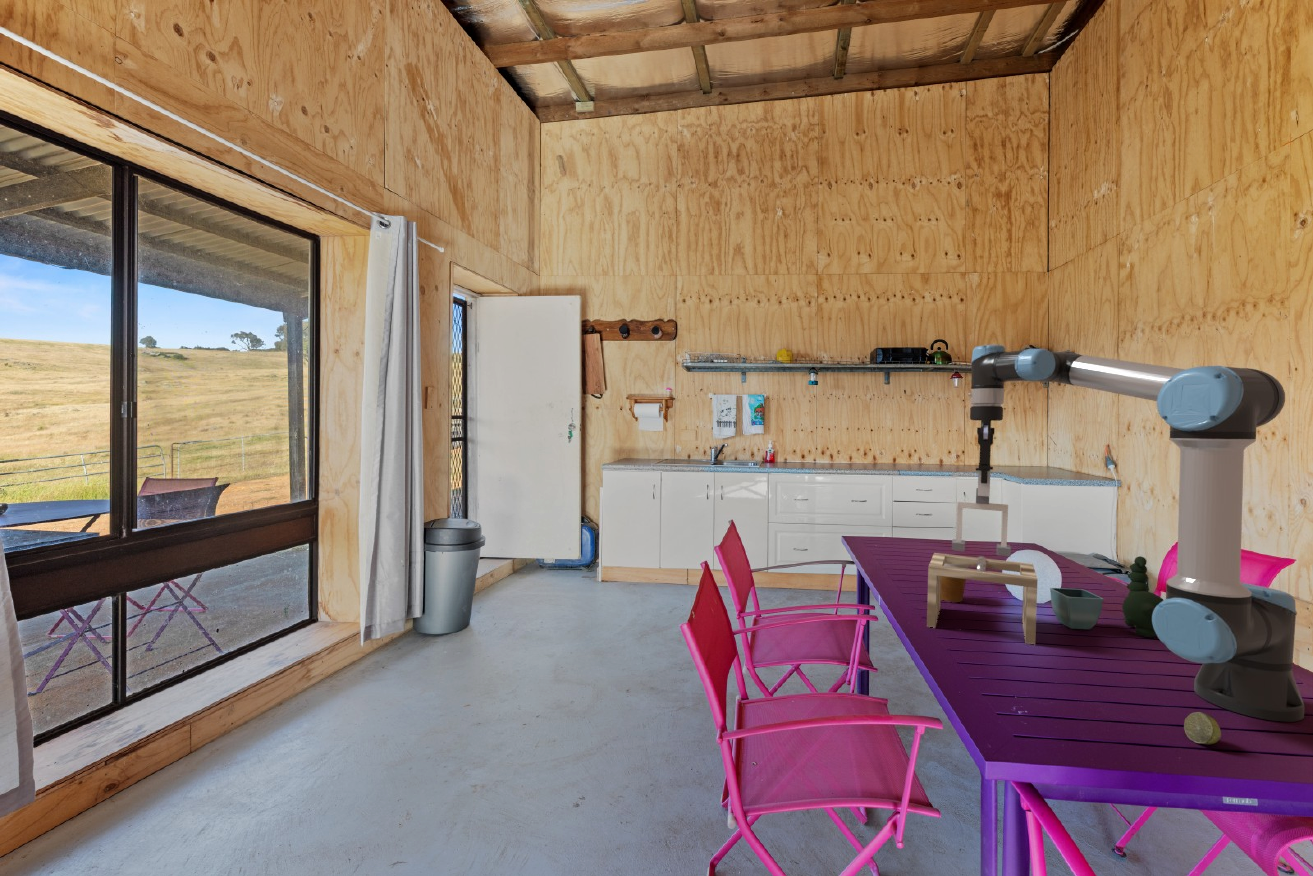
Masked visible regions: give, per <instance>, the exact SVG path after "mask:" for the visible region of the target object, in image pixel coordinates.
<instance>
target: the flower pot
mask: <svg viewBox="0 0 1313 876" xmlns="http://www.w3.org/2000/svg"><path fill="white" fill-rule="evenodd" d="M1049 591H1050V601H1051V608H1052V611H1053V613H1054V616H1055V617H1056V619H1057V620H1058V622H1059V623H1061V624H1062V625H1064V626H1066V627H1067V628H1069V629H1073V630H1075V629H1076V630H1091V629H1092V628H1093V627H1094V626H1095V625H1097V622H1098V621H1099V619H1100V617H1101V613H1102V608H1103V604H1104V598H1103V597H1101V596H1099V595H1096V594H1095V593H1092V592H1090V591H1088V590H1085V589H1082V588H1067V587H1066V588H1065V587H1049Z"/></svg>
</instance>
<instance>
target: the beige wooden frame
mask: <svg viewBox="0 0 1313 876" xmlns="http://www.w3.org/2000/svg"><path fill="white" fill-rule="evenodd" d="M945 563H946V564H955V565H963V566H969V567H973V568H976V569H973V568H968V569H966V568H958V567H949V566H944V564H945ZM986 569H992V570H997V571H990V570H986ZM998 570H999V571H1007V572H1014V573H1015V572H1016V573H1020V574H1014V573H1007V572H998ZM1036 573H1037V572H1036V569H1035V566H1034V564H1033V563H1029V562H1020V561H1011V560H1010V561H1009V560H1002V559H1001V560H1000V559H993V558H986V557H985V556H983V555H980V556H977V557H974V556H965V555H957V554H956V555H955V554H949V553H939V552H937V553H936V552H934V553H933V555H932V557H931V560H930V562H929V564H928V569H927V601H926V602H927V605H926V606H927V607H926V610H927V611H926V627H927V628H930V627H933V628H932V629H936V627H937V623H938V620H937V619H939V616H938V615H940V612H939V611H941V604H942V603H941V601H942V600H941V576H946V577H954V578H962V579H966V580H972V581H978V582H988V583H996V584H1001V585H1002V584H1004V585H1011V586H1018V587H1022V590H1023V591H1022V611H1021V612H1022V614H1021V616H1022V617H1021V618H1022V619H1021V623H1023V624H1022V630H1023V635H1024V636H1025V637H1024V636H1023V637H1024V643H1025V644H1026V643H1027V644H1026V645H1030V644H1034V645H1033V646H1036V632H1037V609H1038V608H1037V605H1038V602H1037V601H1038V581H1039V579H1038V577H1037V574H1036Z"/></svg>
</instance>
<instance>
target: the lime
mask: <svg viewBox="0 0 1313 876" xmlns="http://www.w3.org/2000/svg"><path fill="white" fill-rule="evenodd" d="M1183 730H1184V732H1185V734H1186V736H1187V738H1188V739H1189V740H1190V741H1191V742H1194V744H1195V743H1196V744H1200V745H1213V744H1216V743H1218V741H1220V739H1221V736H1222V731H1221V728H1220V725H1219V723H1218V722H1217V721H1216V720H1215V718H1213V717H1212V716H1210V715H1209V714H1207V713H1206V712H1202V711H1196V712H1191V713H1189V714H1188V715H1187V717H1185V719H1184V724H1183Z"/></svg>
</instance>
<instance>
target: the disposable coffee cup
mask: <svg viewBox="0 0 1313 876" xmlns="http://www.w3.org/2000/svg"><path fill="white" fill-rule="evenodd" d="M944 566H949V567H958V568H966V569H970V566H963V565H955V564H946V563H945V564H944ZM966 580H967V579H962V578H954V577H946V576H941V601H942V600H945V601H950V602H960V601H962V602H963V599H964V594H965V592H964V591H965V587H966ZM945 601H944V602H945ZM950 602H949V603H950ZM960 603H961V602H960Z"/></svg>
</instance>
